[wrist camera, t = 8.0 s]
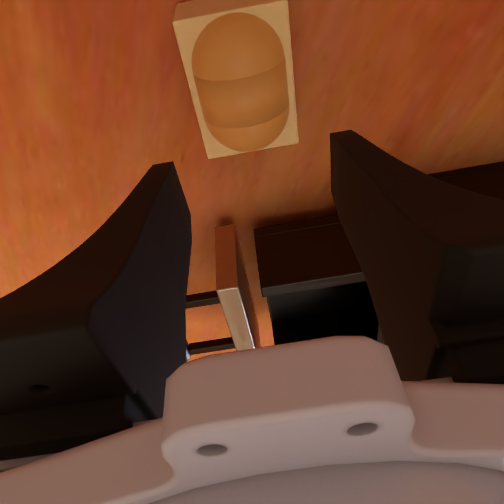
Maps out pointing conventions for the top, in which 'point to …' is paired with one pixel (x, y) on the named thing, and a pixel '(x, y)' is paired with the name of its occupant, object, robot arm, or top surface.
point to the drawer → (289, 286)
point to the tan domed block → (239, 73)
